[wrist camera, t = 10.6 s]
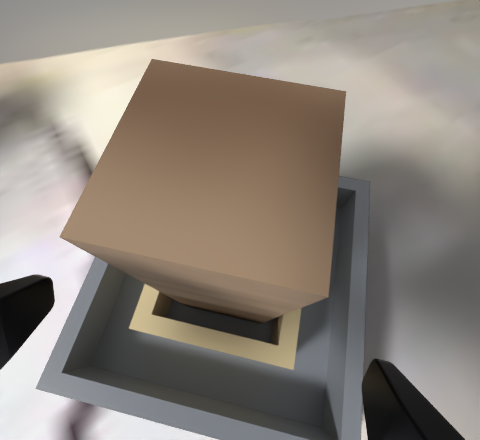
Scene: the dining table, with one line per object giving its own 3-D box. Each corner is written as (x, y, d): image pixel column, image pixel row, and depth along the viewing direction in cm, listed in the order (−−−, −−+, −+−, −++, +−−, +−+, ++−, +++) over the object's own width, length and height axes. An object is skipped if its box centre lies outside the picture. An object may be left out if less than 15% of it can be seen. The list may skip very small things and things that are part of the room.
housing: (330, 444, 14) (365, 484, 10) (78, 376, 15) (27, 390, 11) (347, 207, 19) (373, 177, 15) (162, 169, 20) (146, 133, 16)
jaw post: (260, 323, 15) (328, 296, 4) (186, 306, 15) (59, 236, 4) (273, 250, 17) (346, 91, 6) (206, 236, 17) (151, 58, 6)
